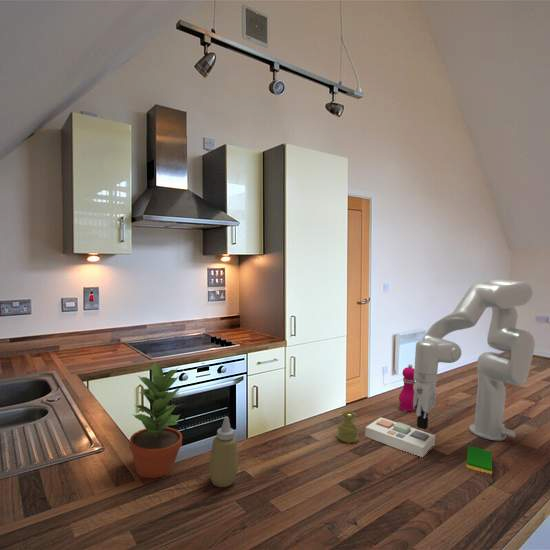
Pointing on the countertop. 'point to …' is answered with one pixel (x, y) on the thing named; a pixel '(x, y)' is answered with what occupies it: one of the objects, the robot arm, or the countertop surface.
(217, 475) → the squeeze bottle
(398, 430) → the sage key
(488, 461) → the dish sponge
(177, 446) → the potted plant
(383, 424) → the terracotta key
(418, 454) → the key pad
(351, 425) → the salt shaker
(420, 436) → the charcoal key
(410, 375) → the pepper mill
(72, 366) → the countertop surface
